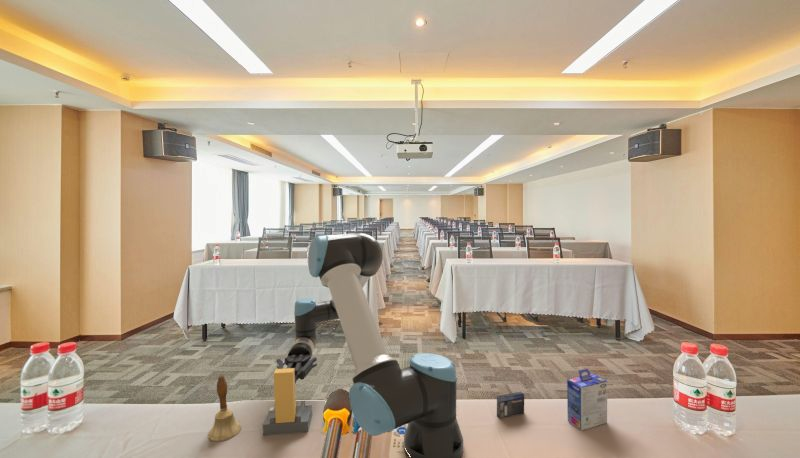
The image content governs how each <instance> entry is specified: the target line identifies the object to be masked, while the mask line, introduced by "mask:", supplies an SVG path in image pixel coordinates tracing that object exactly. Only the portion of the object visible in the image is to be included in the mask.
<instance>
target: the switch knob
mask: <svg viewBox="0 0 800 458" xmlns="http://www.w3.org/2000/svg"><path fill="white" fill-rule="evenodd" d="M286 368H287V367H286ZM286 368H283V369H278V368H277V369H276V368H275V370H274V372H273V386H274V387H273V392H274V407H275V418H276V423H285V422H295V419H296V406H297V400H296V399H297V398H296V384H295V370H294V368H287V369H286Z"/></svg>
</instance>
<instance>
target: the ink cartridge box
mask: <svg viewBox="0 0 800 458" xmlns="http://www.w3.org/2000/svg"><path fill="white" fill-rule="evenodd" d="M577 371H578V377H573V378H569V379H567V380H566V385H567V386H566V387H567V389H566V391H567V393H566V394H567V421H568V423H570V424H572V425H573V426H574V427H576V428H577V429H578V430H580V431H583V430H587V429H591V428H594V427H597V426H600V425H604V424H607V423H608V380H607V379H604V378H603V377H600V376H599V375H597V374H595V373H591V372H590V371H589V368H585V369H579V370H577ZM583 373H587V374H585V375H583Z"/></svg>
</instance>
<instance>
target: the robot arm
mask: <svg viewBox="0 0 800 458" xmlns="http://www.w3.org/2000/svg"><path fill="white" fill-rule="evenodd" d="M383 259H384V255H383V249H382V246H381V244H380V243H379V241H378V240H377V239H376V238H375V237H373V236H372V235H370V234H368V233H364V232H354V233H344V234H343V233H340V234H325V235H317V236H315V237H313V238H312V240H311V242H310V244H309V248H308V255H307V262H308V263H307V265H308V271H309V274H310V276H311V277H313V278H316V279H317V278H318V277H319V279H320V284H321V285H322V286H323V287H326V288H328V289H329V291H330V295H331V300H326V301H319V302H316V300H315V299H314V298H311V297H305V298H303V297H302V298H299V299H297V300H296V301H295V302H294V311H293V313H294V333H295V336H294V337H295V338H294V342H293V344H292V346H291V347H290V349H289V351H288V354H287V356H286V357H285V358H284V359H281V358H278V359H276V368H277V369H284V366H287V367H285V369H287V368H294V370H295V385H296V383H297V381H298V380H299V379H300V380H301V381H302V380H304V379H305V378H306V377H307V376H308V375H309V374H310V372H311V371H312V369H315V367H317V366H318V364H317V363H318V359H317V357H312V355H313V354H314V351H315V348H316V345H317V344H318V340H319V339H318V338H319V336H318V335H319V334H318V332H317V324H321V323H326V322H330V321H336V320H339V322H340V325H341V329H342V332H343V334H344V337H345V340H346V344H347V347H348V349H349V354H350V356H351V359H352V362H353V365H354V369H355V371H354V374H353V377H352V379H351V380H352V385H351V386H350V388H349V392H348V399H349V400H350V401H349V405H350V410H351V411H352V414H353V417H354V419H355V421H356V422H357V424H358V426H359V427H360V428H361V429H362V430H363V431H364V432H365V433H367V434H368V435H369V436H373V437H376V436H380V435H382V434H385V433H391V432H392V431H394V430H396V429H398V428H400V427H403V426H405V425H407V426H406V429H405V432H404V435H403V447H404V446H405V448H406V450H407V452H408V453H409V454H410V456H411V458H461V457H462V455H463V453H464V438H463V437H464V436H463V434H462V431H461V429H460V425H459V422H458V419H457V381H458V377H457V368H456V365H455V364H454V362H453V361H452V360H451V359H449V358H448V357H446V356H443V355H439V354H437V353H436V354H435V353H429V352H428V353H427V352H426V353H425V352H424V353H415V354H413V355H412V356H410V358H409V362H408V364H409V366H408V367H407V366H406V367H403V368H401V366H400V364H399V362H398V360H397V358H393V357H391V356H390V354H389V353H388V349H387V348H386V345H385V343H384V341H383V337H382V336H381V335H382V334H381V332H380V329H379V327H378V325H377V322H376V320H375V316H374V315H373V312H372V308H371V306H370V304H369V302H368V299H367V297H366V293H365V291H364V286H366V284H367V282H368V281H369V279H370V278H371V277H373V276H375V275H376V274H377V272H378V271H379V270H380V268H381V267H382V263H383Z"/></svg>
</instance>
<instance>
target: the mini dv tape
mask: <svg viewBox="0 0 800 458" xmlns="http://www.w3.org/2000/svg"><path fill="white" fill-rule="evenodd" d="M523 414H525V394H524V392H522V391H518V392H512V393H506V394H501V395H497V396H496V417H497V418H499V419H504V418H509V417H514V416H519V415H523Z"/></svg>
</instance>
